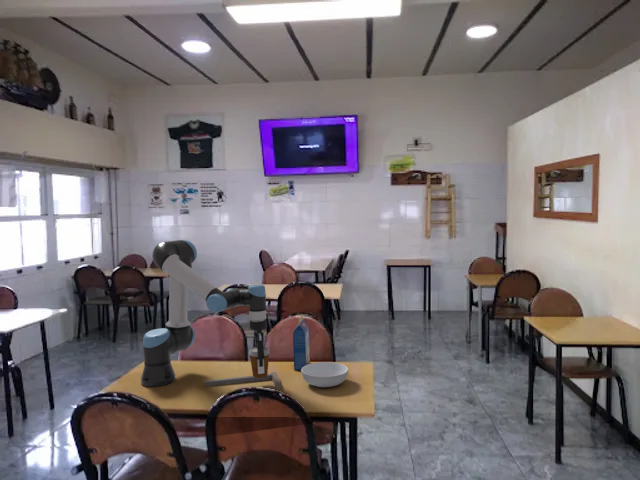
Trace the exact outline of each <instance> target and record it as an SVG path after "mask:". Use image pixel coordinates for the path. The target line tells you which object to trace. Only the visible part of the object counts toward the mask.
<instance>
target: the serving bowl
mask: <svg viewBox="0 0 640 480" xmlns="http://www.w3.org/2000/svg"><path fill="white" fill-rule="evenodd" d="M300 373H301V375H302V378H303V380H304V381H305V382H306V383H307V384H309V385H310V386H313V387H319V388H330V387H335V386H338V385H340V384H342V383H344V381H345V380H346V379H347V377H348V376H349V375H348V374H349V368H348V367H347V366H346V365H345V364H342V363H339V362H333V361H318V362H312V363H309V364H308V365H306V366H304V367H303V368H302V369H301V370H300Z"/></svg>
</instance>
